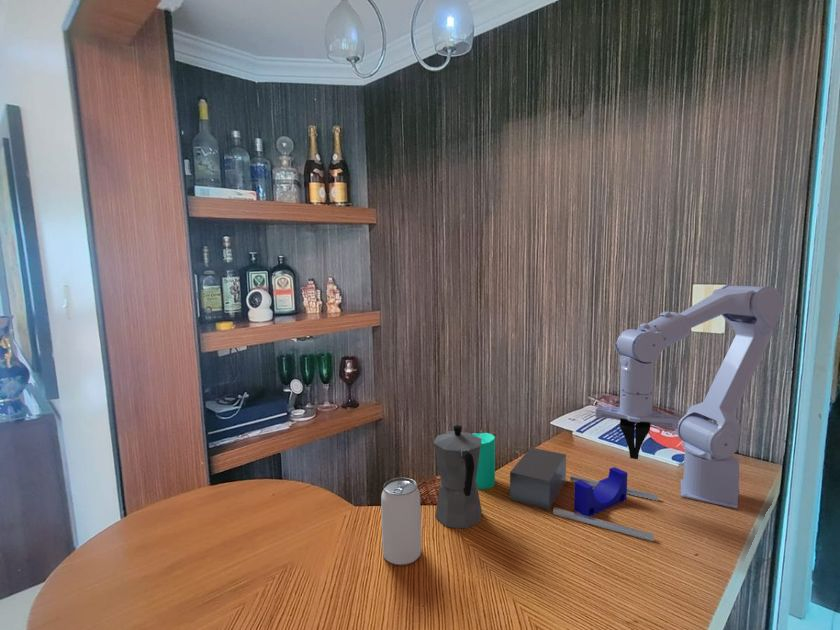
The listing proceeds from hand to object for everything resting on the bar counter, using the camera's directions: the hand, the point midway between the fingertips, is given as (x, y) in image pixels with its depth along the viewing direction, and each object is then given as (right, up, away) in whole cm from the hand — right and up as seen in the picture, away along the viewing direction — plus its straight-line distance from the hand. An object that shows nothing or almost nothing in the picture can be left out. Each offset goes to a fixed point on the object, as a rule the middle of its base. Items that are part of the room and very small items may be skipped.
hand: (634, 457), depth 85 cm
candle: (-29, -9, +10) cm, 32 cm away
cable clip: (-7, -10, +1) cm, 12 cm away
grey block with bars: (-10, -9, +2) cm, 14 cm away
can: (-46, -12, -14) cm, 49 cm away
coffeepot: (-35, -11, -4) cm, 37 cm away
